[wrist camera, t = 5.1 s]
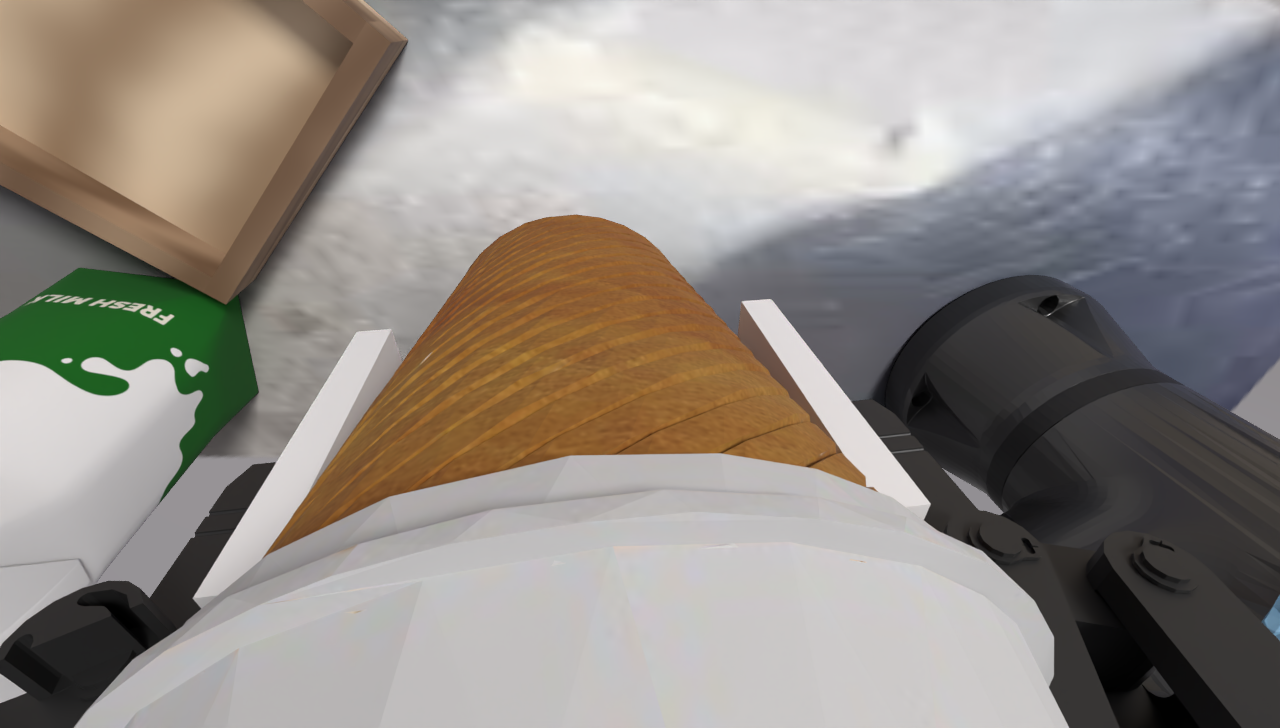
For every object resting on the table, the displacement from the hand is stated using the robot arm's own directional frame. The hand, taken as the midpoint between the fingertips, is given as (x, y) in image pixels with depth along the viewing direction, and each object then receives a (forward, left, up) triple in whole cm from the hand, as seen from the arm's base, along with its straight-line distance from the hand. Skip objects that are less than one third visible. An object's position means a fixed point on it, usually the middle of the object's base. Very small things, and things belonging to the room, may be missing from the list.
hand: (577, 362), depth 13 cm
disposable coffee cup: (0, 0, -2) cm, 2 cm away
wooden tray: (+16, +7, -17) cm, 25 cm away
